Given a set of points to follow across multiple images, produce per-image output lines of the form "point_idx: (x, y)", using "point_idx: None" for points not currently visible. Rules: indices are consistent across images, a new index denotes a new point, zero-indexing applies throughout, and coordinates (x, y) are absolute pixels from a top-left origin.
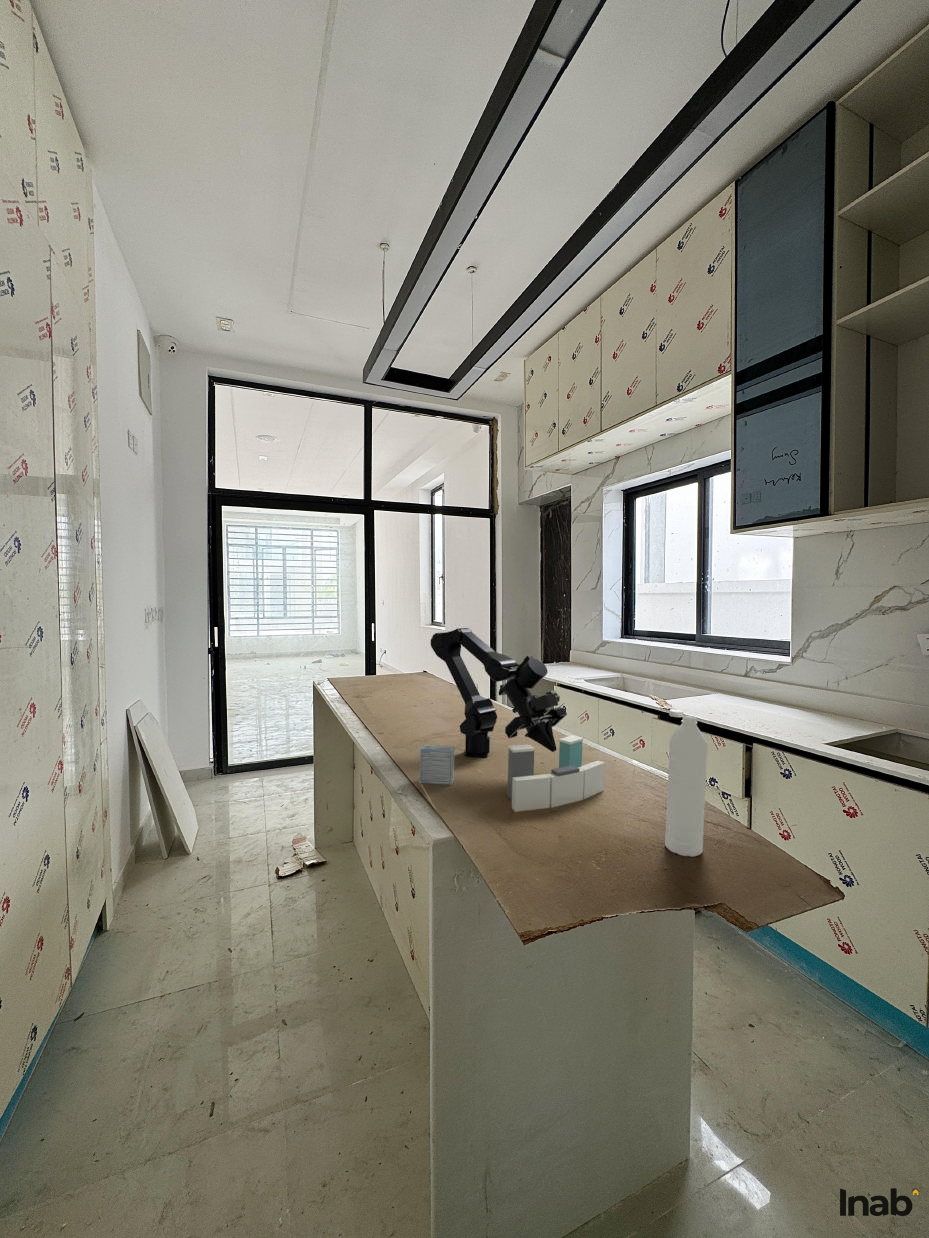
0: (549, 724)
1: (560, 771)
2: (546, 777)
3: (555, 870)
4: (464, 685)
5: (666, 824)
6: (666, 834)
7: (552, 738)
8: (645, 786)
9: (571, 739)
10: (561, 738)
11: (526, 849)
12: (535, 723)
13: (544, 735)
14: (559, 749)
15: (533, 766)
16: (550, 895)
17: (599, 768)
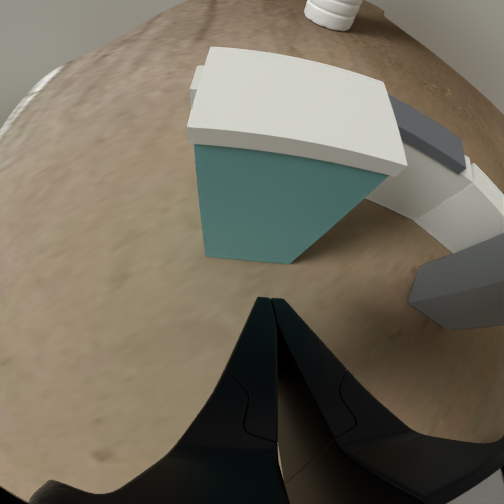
0: (247, 492)
1: (452, 137)
2: (481, 172)
3: (485, 127)
4: None
5: (354, 8)
6: (350, 18)
7: (262, 354)
8: (91, 97)
9: (322, 87)
10: (379, 156)
11: (497, 170)
12: (501, 480)
13: (369, 395)
14: (360, 201)
15: (493, 238)
16: (497, 122)
17: None
